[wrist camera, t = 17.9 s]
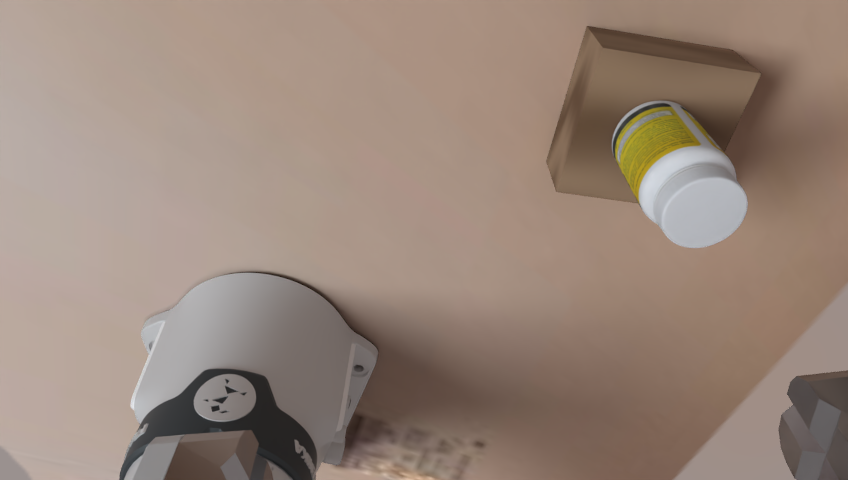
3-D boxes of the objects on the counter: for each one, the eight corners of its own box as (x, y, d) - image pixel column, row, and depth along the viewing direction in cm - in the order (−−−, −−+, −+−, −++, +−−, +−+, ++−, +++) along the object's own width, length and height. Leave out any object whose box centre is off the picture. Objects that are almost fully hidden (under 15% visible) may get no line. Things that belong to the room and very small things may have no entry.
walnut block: (674, 180, 43) (695, 211, 39) (546, 161, 42) (556, 191, 38) (732, 49, 37) (761, 73, 34) (587, 26, 37) (602, 47, 33)
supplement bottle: (596, 161, 37) (634, 242, 30) (632, 88, 35) (683, 158, 28) (669, 181, 38) (723, 264, 31) (709, 110, 35) (778, 184, 28)
